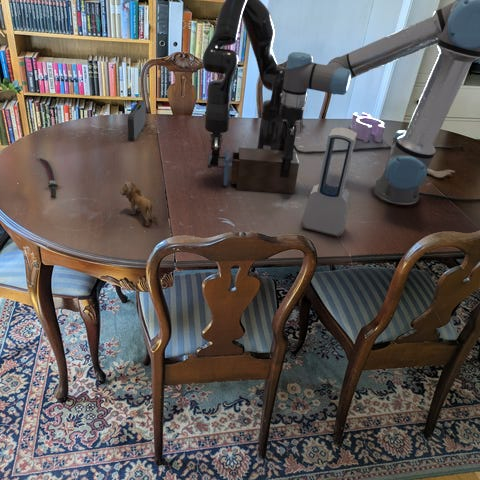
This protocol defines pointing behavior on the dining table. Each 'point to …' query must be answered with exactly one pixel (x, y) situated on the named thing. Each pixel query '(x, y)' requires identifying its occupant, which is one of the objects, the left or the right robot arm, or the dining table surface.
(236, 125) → the dining table surface
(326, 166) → the electronic device
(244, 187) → the cabinet
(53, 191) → the sword
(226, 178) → the drawer
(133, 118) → the handheld gaming console
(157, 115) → the dining table surface
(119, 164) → the dining table surface
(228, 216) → the dining table surface
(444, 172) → the jawbone
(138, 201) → the lion figurine
